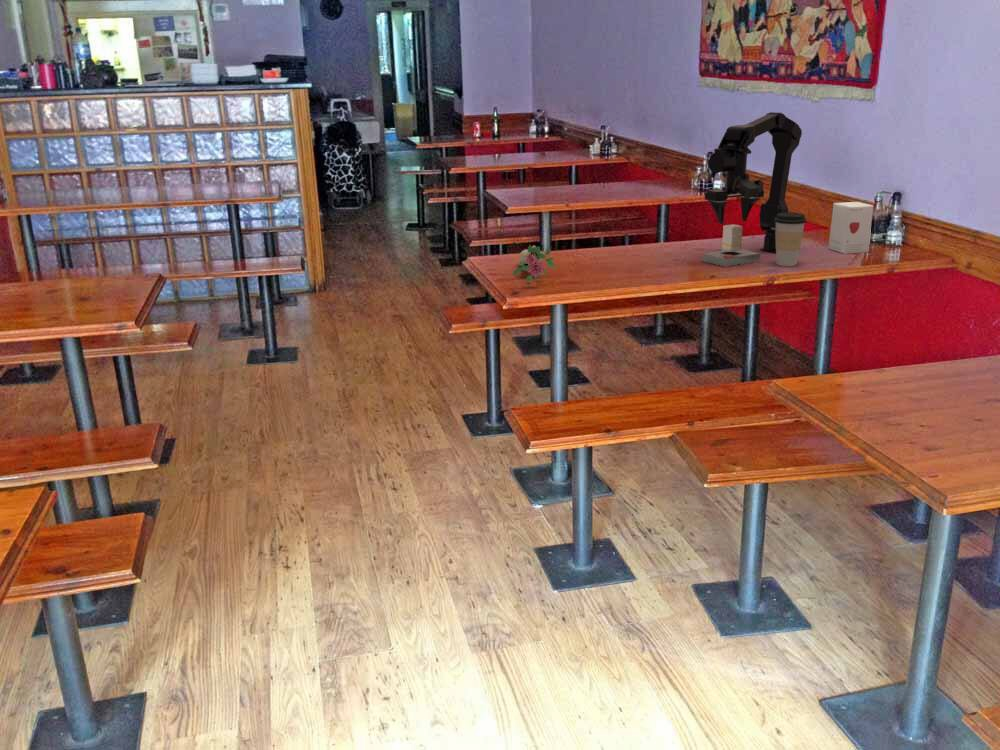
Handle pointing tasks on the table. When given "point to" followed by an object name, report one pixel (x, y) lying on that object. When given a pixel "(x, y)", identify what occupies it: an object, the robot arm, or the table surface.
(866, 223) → the supplement box
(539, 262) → the flower vase
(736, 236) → the post
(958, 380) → the table surface
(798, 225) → the coffee cup
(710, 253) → the sleeve block
